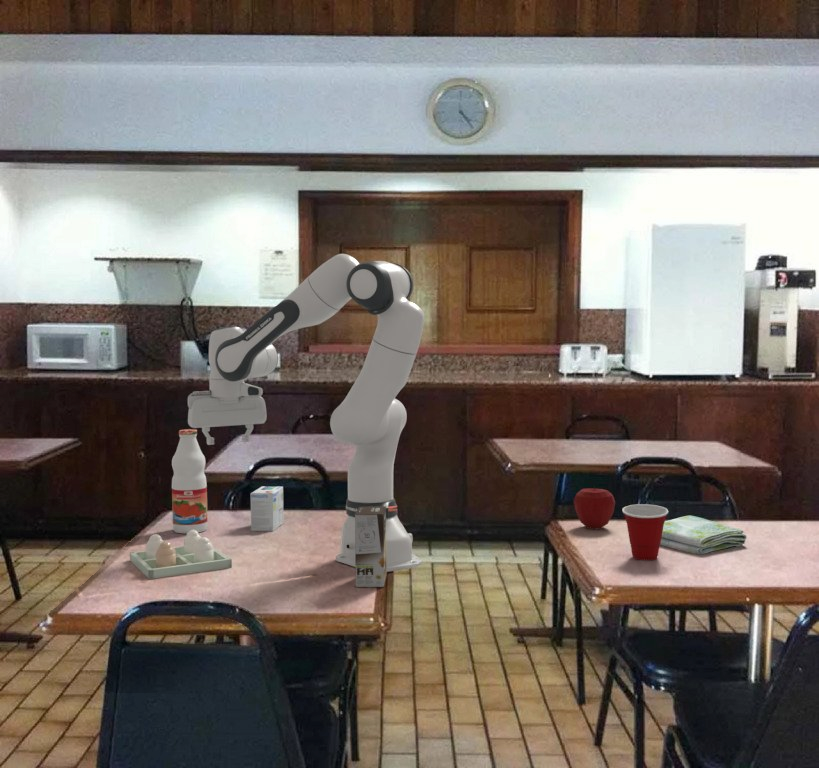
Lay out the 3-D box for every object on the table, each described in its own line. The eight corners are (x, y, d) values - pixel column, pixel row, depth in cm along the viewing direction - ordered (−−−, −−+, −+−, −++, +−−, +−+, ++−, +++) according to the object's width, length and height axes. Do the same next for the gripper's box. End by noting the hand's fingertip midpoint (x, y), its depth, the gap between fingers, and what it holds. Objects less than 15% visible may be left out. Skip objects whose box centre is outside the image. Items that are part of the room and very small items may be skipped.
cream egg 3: (216, 566, 220) (215, 538, 220) (197, 568, 218) (197, 540, 217) (210, 562, 224) (210, 534, 223) (192, 564, 222) (191, 536, 221)
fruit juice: (210, 526, 266) (207, 427, 264) (205, 533, 257) (202, 431, 255) (176, 527, 266) (173, 428, 264) (170, 534, 256) (167, 432, 254)
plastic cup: (618, 561, 223) (619, 511, 223) (624, 550, 234) (625, 503, 233) (666, 565, 220) (666, 514, 219) (669, 554, 230) (670, 505, 229)
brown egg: (178, 571, 216) (177, 542, 215) (159, 574, 214) (158, 544, 213) (173, 566, 220) (172, 538, 219) (154, 569, 217) (153, 540, 217)
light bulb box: (261, 522, 270) (260, 485, 270) (284, 523, 270) (283, 486, 269) (250, 531, 260) (249, 492, 259) (273, 531, 259) (273, 492, 258)
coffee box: (384, 587, 203) (383, 514, 202) (355, 587, 203) (354, 514, 202) (387, 576, 212) (386, 505, 211) (358, 576, 213) (357, 505, 212)
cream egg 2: (204, 558, 228) (204, 530, 227) (186, 560, 226) (186, 532, 225) (199, 554, 232) (199, 527, 231) (181, 556, 230) (181, 529, 229)
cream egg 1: (167, 562, 223) (167, 535, 223) (149, 565, 221) (148, 537, 221) (163, 558, 227) (162, 531, 227) (144, 561, 225) (143, 533, 225)
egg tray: (231, 569, 219) (231, 559, 219) (149, 581, 210) (149, 570, 210) (207, 552, 235) (207, 542, 235) (130, 562, 226) (129, 552, 226)
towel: (700, 557, 228) (700, 536, 228) (636, 540, 246) (636, 521, 246) (749, 547, 238) (749, 527, 238) (684, 531, 256) (684, 513, 256)
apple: (621, 527, 260) (622, 485, 260) (601, 534, 252) (602, 490, 252) (586, 521, 268) (587, 481, 267) (566, 528, 260) (566, 486, 259)
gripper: (191, 392, 234) (192, 447, 235) (268, 388, 245) (269, 441, 246) (183, 390, 240) (185, 444, 241) (259, 387, 250) (260, 439, 251)
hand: (228, 443), depth 243 cm, fingers open, 8 cm apart
